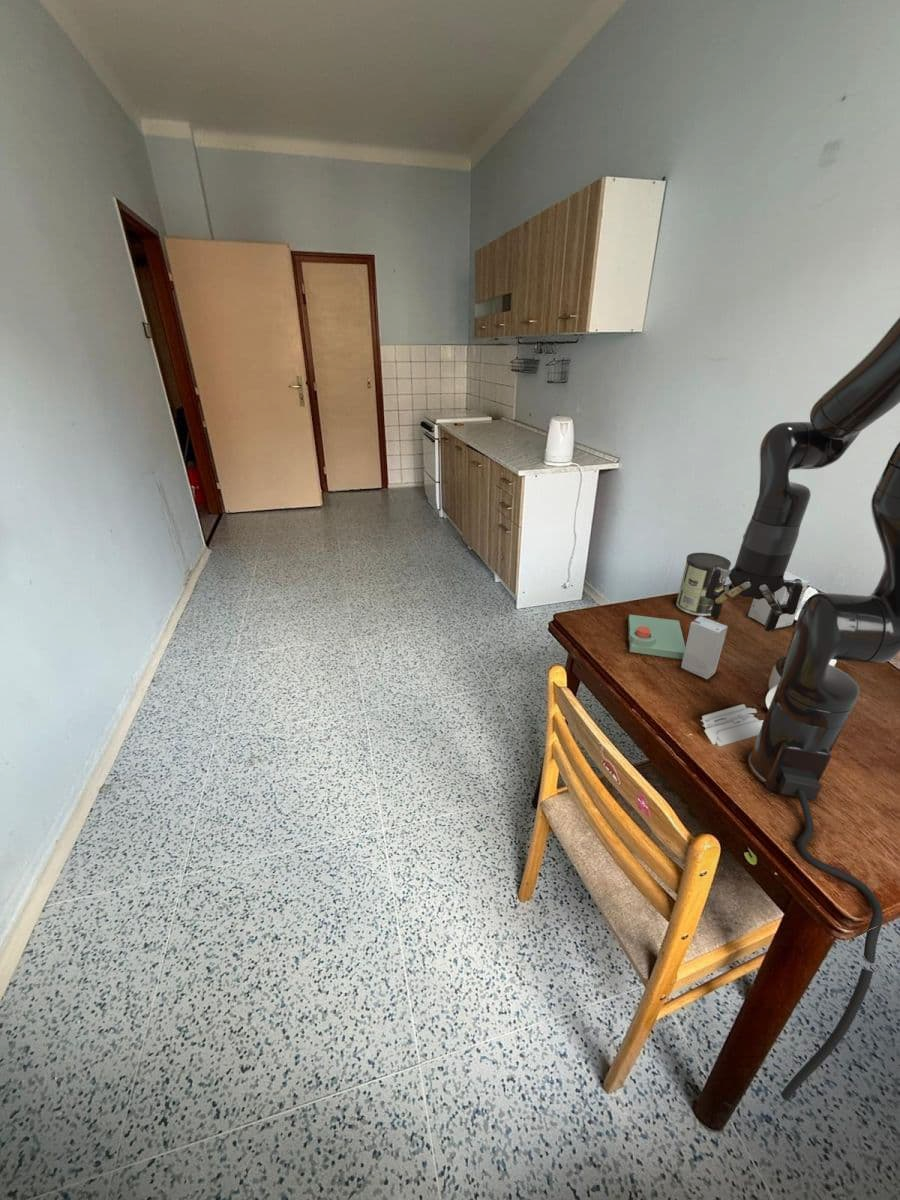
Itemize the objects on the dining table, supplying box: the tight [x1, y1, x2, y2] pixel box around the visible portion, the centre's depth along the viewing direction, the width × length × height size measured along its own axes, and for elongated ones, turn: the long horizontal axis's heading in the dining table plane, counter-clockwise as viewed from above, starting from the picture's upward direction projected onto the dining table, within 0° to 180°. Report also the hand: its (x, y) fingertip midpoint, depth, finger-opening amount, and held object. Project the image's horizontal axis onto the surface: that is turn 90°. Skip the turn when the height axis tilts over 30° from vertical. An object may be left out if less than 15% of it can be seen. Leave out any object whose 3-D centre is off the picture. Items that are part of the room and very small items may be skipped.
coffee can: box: [675, 552, 732, 617], centre depth 126 cm, size 10×10×14 cm
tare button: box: [636, 626, 651, 639], centre depth 111 cm, size 3×3×2 cm
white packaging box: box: [747, 570, 810, 630], centre depth 119 cm, size 7×7×13 cm
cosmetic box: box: [680, 616, 729, 680], centre depth 101 cm, size 6×4×12 cm
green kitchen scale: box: [627, 614, 686, 660], centre depth 115 cm, size 15×12×4 cm
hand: (740, 623), depth 89 cm, fingers open, 8 cm apart
